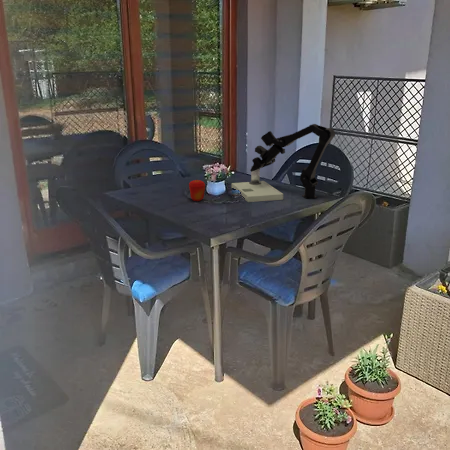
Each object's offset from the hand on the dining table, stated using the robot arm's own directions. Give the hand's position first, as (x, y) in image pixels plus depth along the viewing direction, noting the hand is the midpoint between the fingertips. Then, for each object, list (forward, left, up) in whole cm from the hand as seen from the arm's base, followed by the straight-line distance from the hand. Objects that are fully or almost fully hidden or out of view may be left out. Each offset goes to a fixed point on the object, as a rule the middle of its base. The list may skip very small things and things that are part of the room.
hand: (254, 169), depth 285 cm
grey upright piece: (0, 0, -8) cm, 8 cm away
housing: (-12, +3, -11) cm, 16 cm away
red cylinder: (-16, +38, -11) cm, 42 cm away
